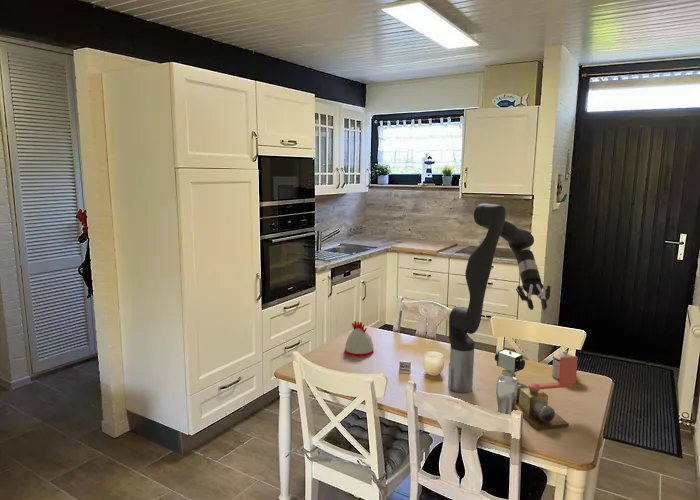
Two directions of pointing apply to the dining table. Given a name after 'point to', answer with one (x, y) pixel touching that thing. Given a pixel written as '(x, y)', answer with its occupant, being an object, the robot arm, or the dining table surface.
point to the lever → (561, 375)
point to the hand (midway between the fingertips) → (538, 308)
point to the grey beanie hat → (359, 342)
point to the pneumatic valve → (509, 362)
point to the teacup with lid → (558, 362)
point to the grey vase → (506, 394)
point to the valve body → (537, 409)
